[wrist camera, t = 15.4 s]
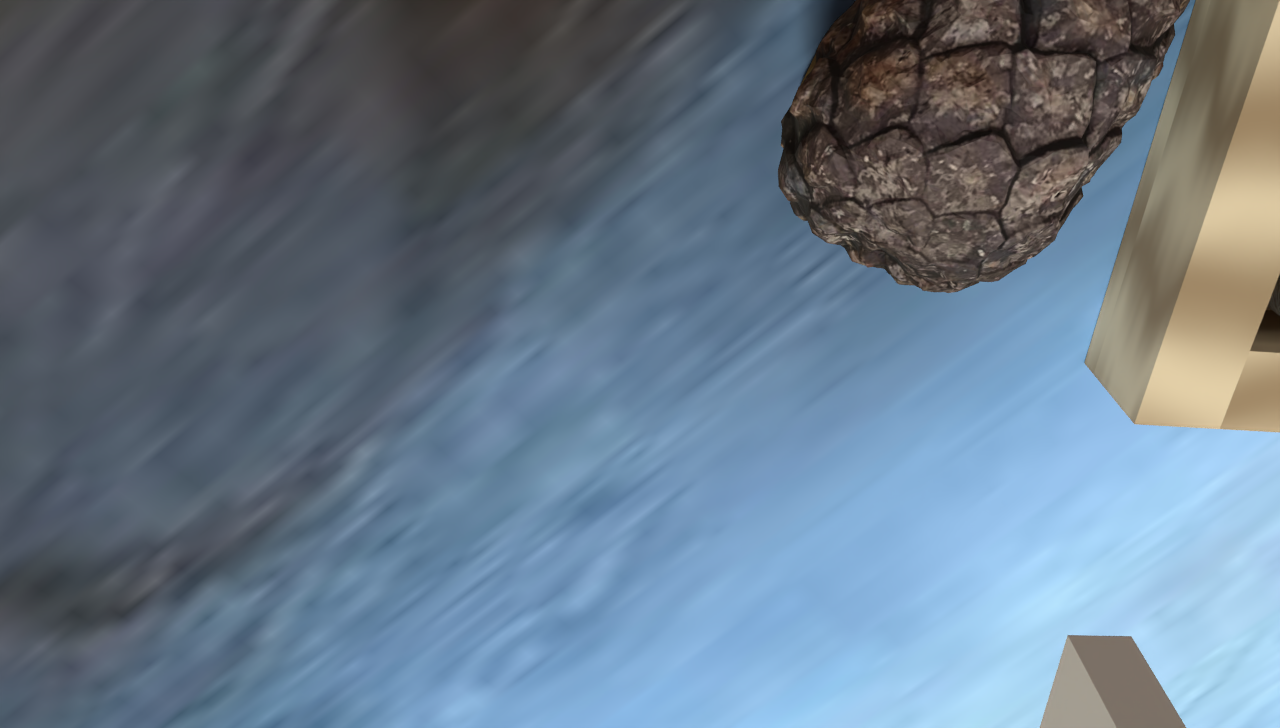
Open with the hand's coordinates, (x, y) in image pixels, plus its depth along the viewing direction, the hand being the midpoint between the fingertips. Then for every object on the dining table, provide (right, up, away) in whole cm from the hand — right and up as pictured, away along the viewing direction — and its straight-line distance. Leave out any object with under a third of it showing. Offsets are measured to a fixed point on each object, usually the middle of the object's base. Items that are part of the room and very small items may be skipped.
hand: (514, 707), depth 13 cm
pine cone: (+13, +17, +26) cm, 34 cm away
